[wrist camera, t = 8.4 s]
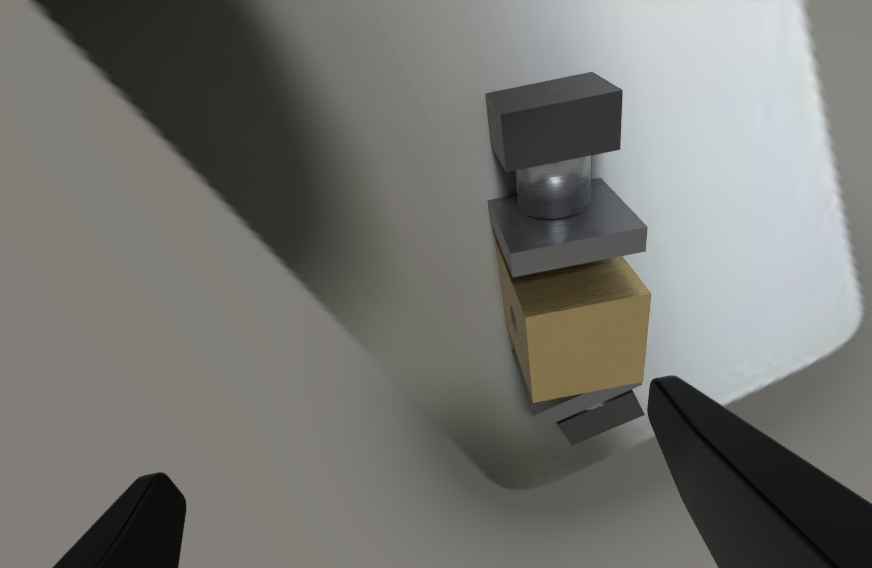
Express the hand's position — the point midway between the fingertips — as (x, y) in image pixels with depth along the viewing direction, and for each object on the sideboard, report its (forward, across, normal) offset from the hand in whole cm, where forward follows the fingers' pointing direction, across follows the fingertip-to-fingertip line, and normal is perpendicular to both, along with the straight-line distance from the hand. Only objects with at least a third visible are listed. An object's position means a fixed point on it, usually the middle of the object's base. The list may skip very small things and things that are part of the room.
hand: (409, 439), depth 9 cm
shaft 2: (+13, -6, 0) cm, 14 cm away
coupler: (+13, -6, +6) cm, 16 cm away
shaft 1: (+13, -7, +12) cm, 19 cm away
